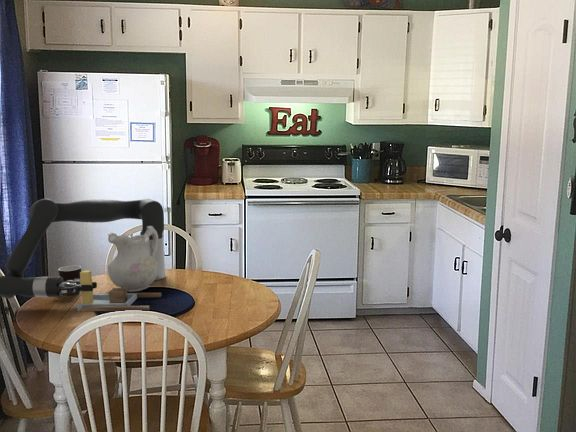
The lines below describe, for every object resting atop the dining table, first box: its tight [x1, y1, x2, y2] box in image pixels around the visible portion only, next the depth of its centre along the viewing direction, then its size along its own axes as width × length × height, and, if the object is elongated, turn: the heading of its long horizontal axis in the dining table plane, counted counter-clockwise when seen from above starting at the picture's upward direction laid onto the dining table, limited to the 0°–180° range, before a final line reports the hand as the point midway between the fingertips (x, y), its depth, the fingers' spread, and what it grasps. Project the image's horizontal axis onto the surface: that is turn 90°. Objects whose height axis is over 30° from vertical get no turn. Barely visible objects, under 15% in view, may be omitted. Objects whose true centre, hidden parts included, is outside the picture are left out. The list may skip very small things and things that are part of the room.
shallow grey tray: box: [76, 269, 139, 312], centre depth 244 cm, size 13×18×13 cm
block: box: [108, 287, 128, 303], centre depth 244 cm, size 5×5×5 cm
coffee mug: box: [57, 265, 82, 296], centre depth 264 cm, size 12×9×10 cm
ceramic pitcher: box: [107, 225, 159, 293], centre depth 263 cm, size 22×20×25 cm
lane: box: [80, 292, 162, 312], centre depth 244 cm, size 18×24×2 cm
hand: (94, 286), depth 244 cm, fingers closed on shallow grey tray, 3 cm apart
